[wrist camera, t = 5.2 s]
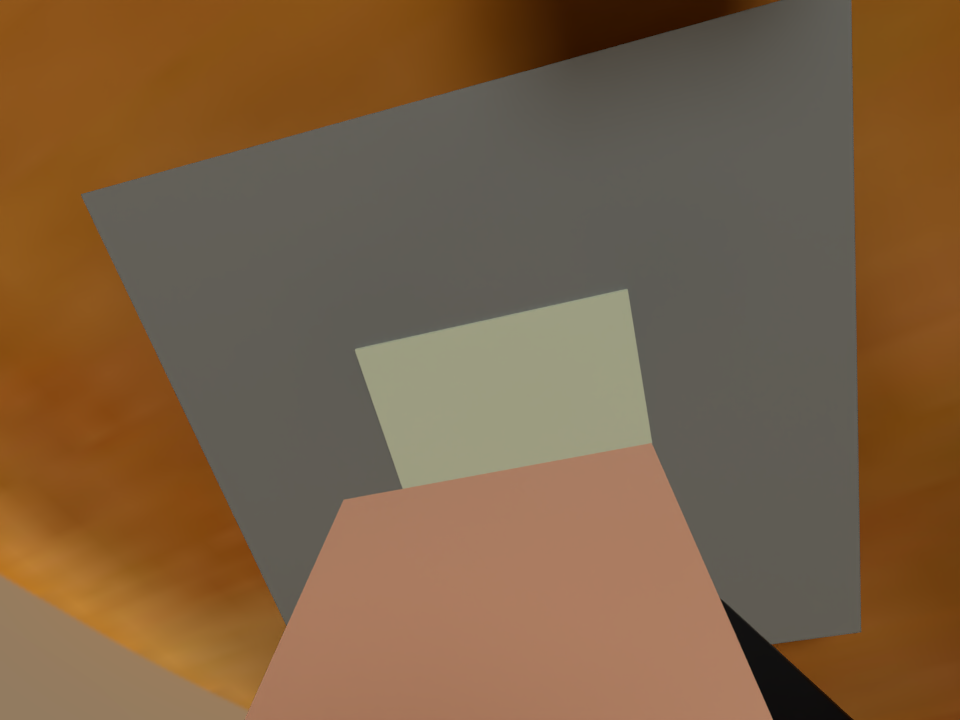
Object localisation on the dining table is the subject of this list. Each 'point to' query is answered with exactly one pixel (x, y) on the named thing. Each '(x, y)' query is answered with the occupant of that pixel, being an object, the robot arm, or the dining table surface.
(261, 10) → the dining table surface
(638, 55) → the charcoal plate
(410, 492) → the terracotta block
